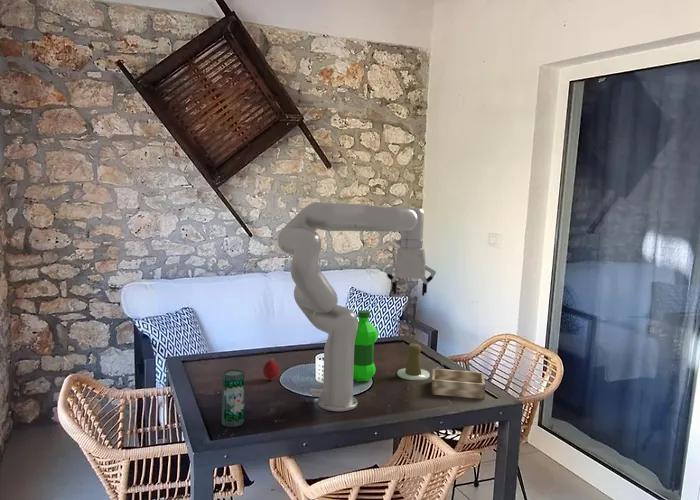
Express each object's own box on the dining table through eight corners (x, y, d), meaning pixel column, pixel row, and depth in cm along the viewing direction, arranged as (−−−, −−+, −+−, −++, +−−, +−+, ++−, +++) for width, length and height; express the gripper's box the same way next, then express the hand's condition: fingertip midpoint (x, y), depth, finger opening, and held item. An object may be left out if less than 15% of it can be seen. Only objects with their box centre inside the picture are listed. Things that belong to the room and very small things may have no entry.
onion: (268, 384, 201) (268, 362, 200) (259, 379, 205) (260, 357, 204) (282, 381, 205) (283, 359, 204) (274, 376, 209) (274, 355, 208)
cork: (420, 376, 212) (422, 347, 211) (404, 375, 213) (405, 345, 212) (421, 371, 218) (423, 342, 216) (405, 369, 219) (406, 341, 217)
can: (227, 428, 165) (227, 377, 163) (218, 420, 170) (219, 371, 168) (247, 423, 168) (247, 373, 166) (238, 416, 173) (238, 367, 171)
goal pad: (395, 378, 211) (395, 376, 211) (398, 368, 222) (398, 366, 222) (429, 381, 209) (429, 379, 209) (430, 371, 220) (430, 369, 220)
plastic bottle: (343, 382, 205) (346, 313, 202) (352, 373, 215) (354, 307, 212) (371, 386, 202) (373, 316, 199) (378, 376, 212) (381, 310, 209)
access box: (431, 394, 196) (432, 379, 196) (432, 381, 209) (433, 368, 208) (484, 399, 194) (485, 384, 193) (482, 386, 206) (483, 372, 205)
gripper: (384, 244, 193) (382, 294, 195) (436, 246, 190) (434, 297, 192) (387, 242, 200) (385, 290, 202) (437, 244, 198) (435, 293, 200)
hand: (409, 294), depth 197 cm, fingers open, 9 cm apart
